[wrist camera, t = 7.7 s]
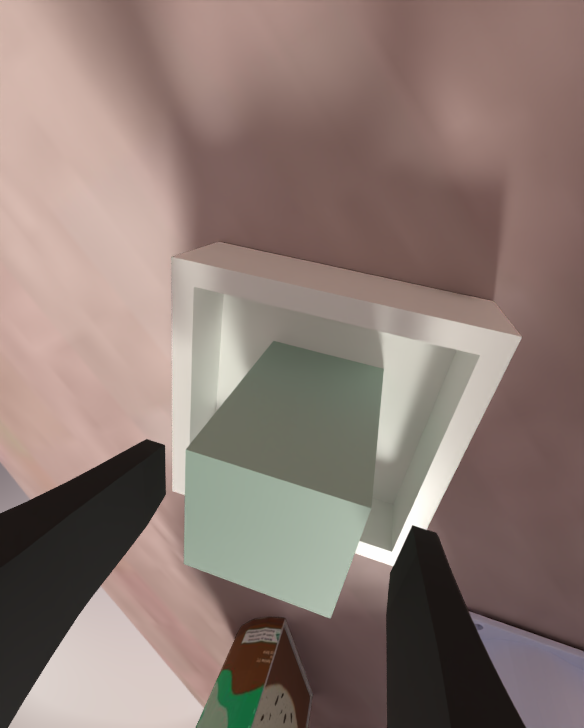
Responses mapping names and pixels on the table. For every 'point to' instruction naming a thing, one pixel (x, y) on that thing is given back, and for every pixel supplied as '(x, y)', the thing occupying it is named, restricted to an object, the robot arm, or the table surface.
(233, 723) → the food container
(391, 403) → the bin
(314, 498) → the green block
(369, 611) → the table surface
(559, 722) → the robot arm
